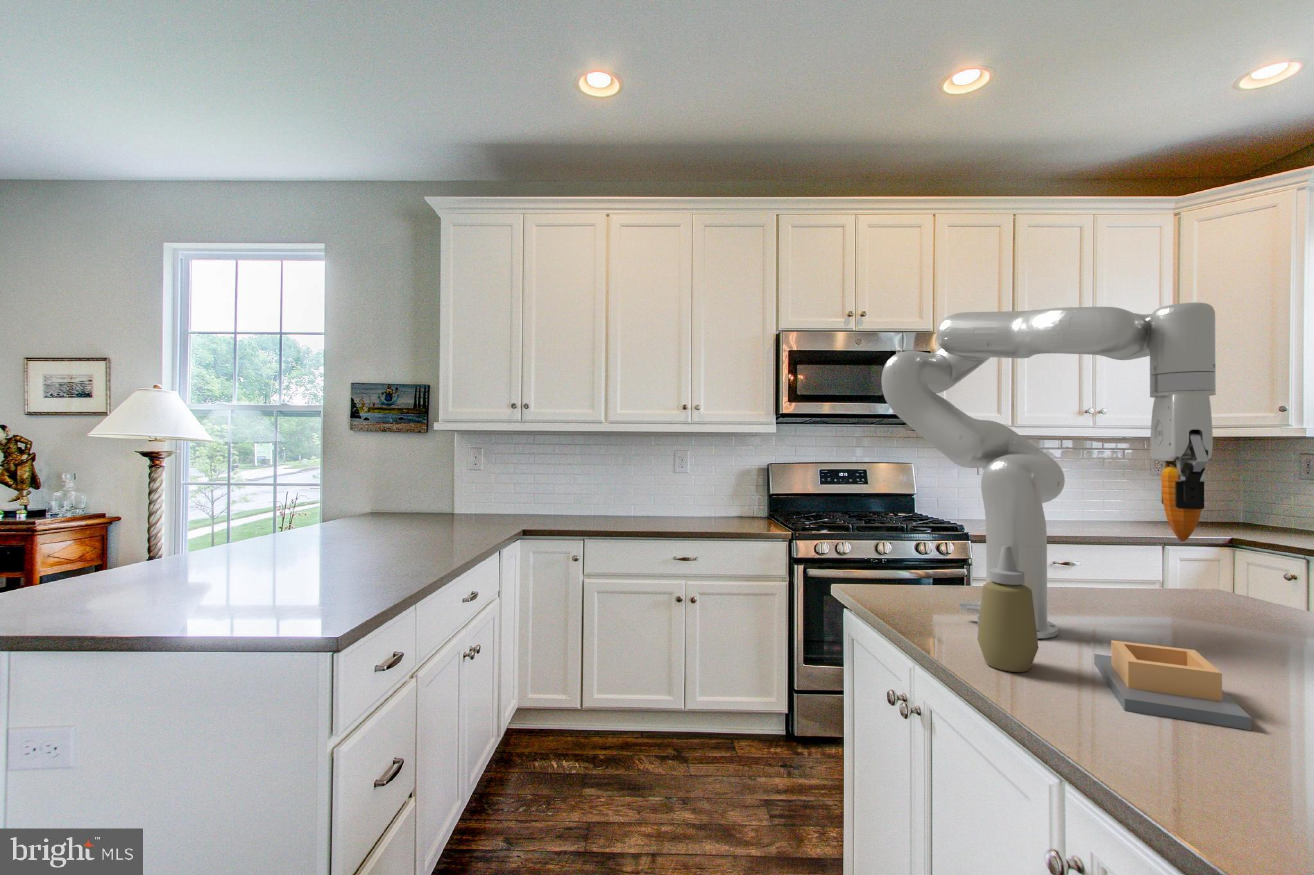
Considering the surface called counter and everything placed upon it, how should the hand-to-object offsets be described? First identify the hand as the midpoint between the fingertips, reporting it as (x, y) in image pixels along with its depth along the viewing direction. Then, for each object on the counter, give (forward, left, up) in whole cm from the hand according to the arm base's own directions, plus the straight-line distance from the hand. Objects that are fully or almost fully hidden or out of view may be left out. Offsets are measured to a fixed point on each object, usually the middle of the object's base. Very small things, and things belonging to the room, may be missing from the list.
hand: (1182, 505), depth 91 cm
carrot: (0, 0, -6) cm, 6 cm away
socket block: (-6, -14, -24) cm, 28 cm away
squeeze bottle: (-24, -12, -24) cm, 36 cm away
